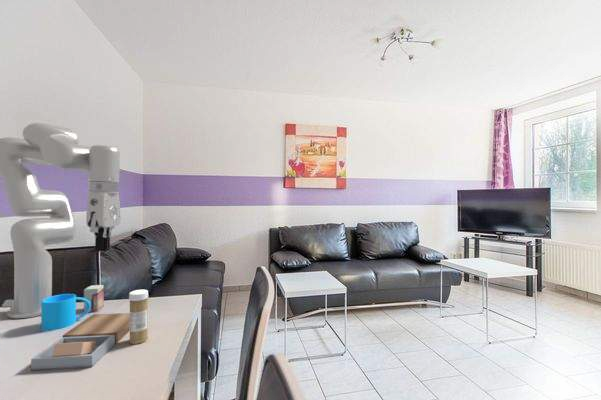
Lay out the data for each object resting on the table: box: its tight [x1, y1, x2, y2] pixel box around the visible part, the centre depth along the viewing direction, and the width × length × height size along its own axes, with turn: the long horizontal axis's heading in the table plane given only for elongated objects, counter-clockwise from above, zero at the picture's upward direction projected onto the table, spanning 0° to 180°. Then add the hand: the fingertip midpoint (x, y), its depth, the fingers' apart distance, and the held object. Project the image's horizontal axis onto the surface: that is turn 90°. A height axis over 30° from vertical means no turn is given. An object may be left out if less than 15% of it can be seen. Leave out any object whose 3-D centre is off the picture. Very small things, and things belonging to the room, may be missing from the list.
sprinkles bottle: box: [128, 289, 149, 345], centre depth 80 cm, size 5×5×14 cm
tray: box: [30, 335, 116, 372], centre depth 72 cm, size 13×11×3 cm
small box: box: [83, 284, 105, 313], centre depth 102 cm, size 5×4×8 cm
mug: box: [40, 293, 91, 332], centre depth 91 cm, size 12×8×8 cm
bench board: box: [62, 312, 130, 345], centre depth 84 cm, size 13×14×3 cm
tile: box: [52, 341, 96, 356], centre depth 71 cm, size 6×6×2 cm
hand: (102, 250), depth 87 cm, fingers closed
